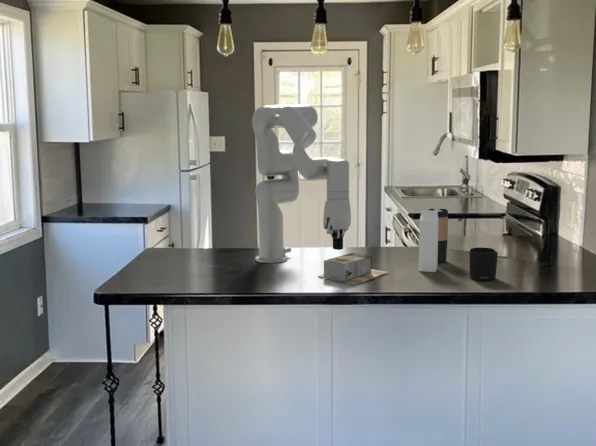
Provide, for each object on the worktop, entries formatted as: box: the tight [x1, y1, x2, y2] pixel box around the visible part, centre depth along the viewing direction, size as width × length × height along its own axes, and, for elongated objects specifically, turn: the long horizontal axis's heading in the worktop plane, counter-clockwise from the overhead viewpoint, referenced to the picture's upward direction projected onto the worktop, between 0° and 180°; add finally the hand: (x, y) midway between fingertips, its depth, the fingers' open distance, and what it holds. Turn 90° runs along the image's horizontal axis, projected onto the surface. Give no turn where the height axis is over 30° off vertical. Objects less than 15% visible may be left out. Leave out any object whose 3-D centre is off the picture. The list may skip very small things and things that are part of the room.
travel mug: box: [428, 208, 449, 264], centre depth 263 cm, size 8×8×20 cm
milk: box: [418, 209, 438, 273], centre depth 249 cm, size 6×6×22 cm
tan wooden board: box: [317, 268, 389, 286], centre depth 243 cm, size 20×16×1 cm
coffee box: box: [323, 252, 373, 281], centre depth 240 cm, size 9×6×16 cm
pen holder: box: [468, 247, 499, 282], centre depth 237 cm, size 9×9×10 cm
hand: (337, 248), depth 234 cm, fingers closed
